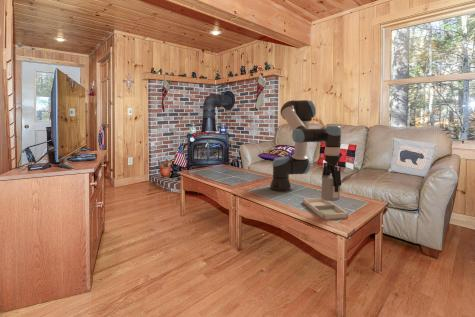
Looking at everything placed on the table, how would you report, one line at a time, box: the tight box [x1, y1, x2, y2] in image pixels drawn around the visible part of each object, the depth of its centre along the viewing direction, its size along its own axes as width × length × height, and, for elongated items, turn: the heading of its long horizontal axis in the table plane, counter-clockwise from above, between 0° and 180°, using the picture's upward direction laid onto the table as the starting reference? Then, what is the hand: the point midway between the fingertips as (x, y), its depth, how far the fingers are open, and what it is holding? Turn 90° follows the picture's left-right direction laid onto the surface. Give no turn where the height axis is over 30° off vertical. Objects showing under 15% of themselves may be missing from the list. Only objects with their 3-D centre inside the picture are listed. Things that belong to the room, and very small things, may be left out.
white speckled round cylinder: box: [320, 174, 341, 202], centre depth 147 cm, size 10×10×12 cm
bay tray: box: [302, 197, 349, 220], centre depth 156 cm, size 27×14×2 cm, turn 9°
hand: (330, 194), depth 147 cm, fingers closed on white speckled round cylinder, 9 cm apart
